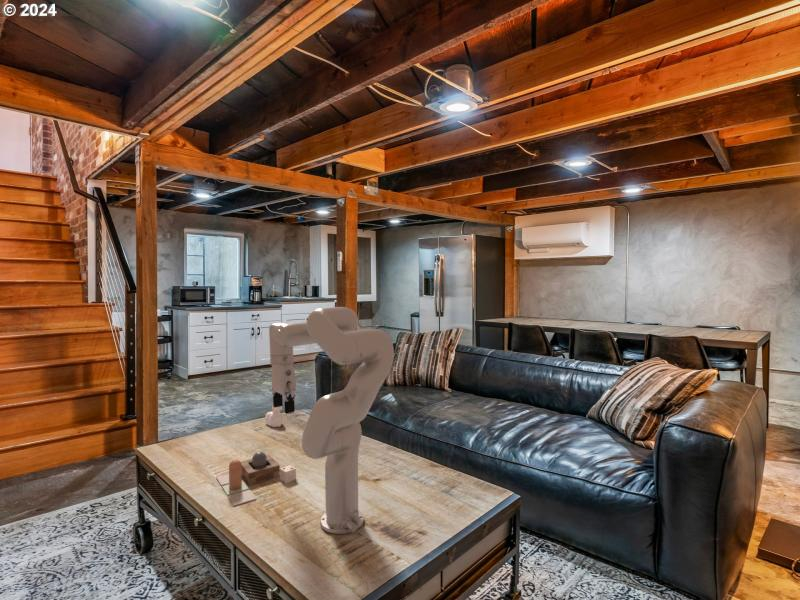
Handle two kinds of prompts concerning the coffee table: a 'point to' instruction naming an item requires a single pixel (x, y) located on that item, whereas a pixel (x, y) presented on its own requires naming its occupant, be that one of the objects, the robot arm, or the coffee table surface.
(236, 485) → the brown rounded cylinder piece
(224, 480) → the tile strip
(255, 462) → the dome
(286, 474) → the die
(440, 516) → the coffee table surface
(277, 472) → the frame
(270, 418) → the bust
